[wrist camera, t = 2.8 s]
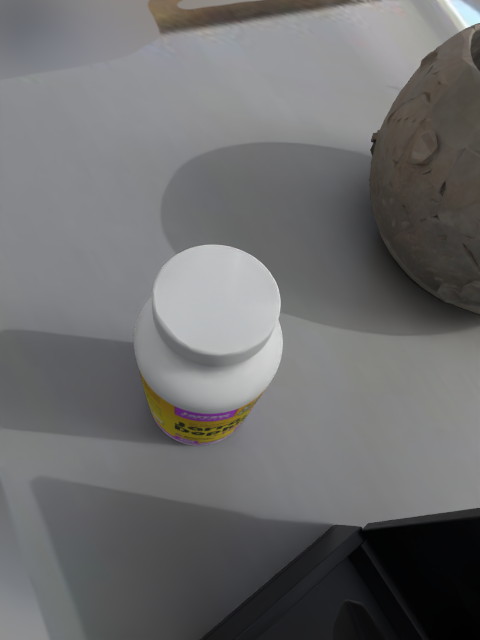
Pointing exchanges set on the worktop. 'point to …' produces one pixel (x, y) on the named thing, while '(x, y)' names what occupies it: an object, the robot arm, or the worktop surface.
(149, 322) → the supplement bottle
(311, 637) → the black open box
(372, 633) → the robot arm
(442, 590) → the lid
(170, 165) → the worktop surface
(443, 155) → the bowl
